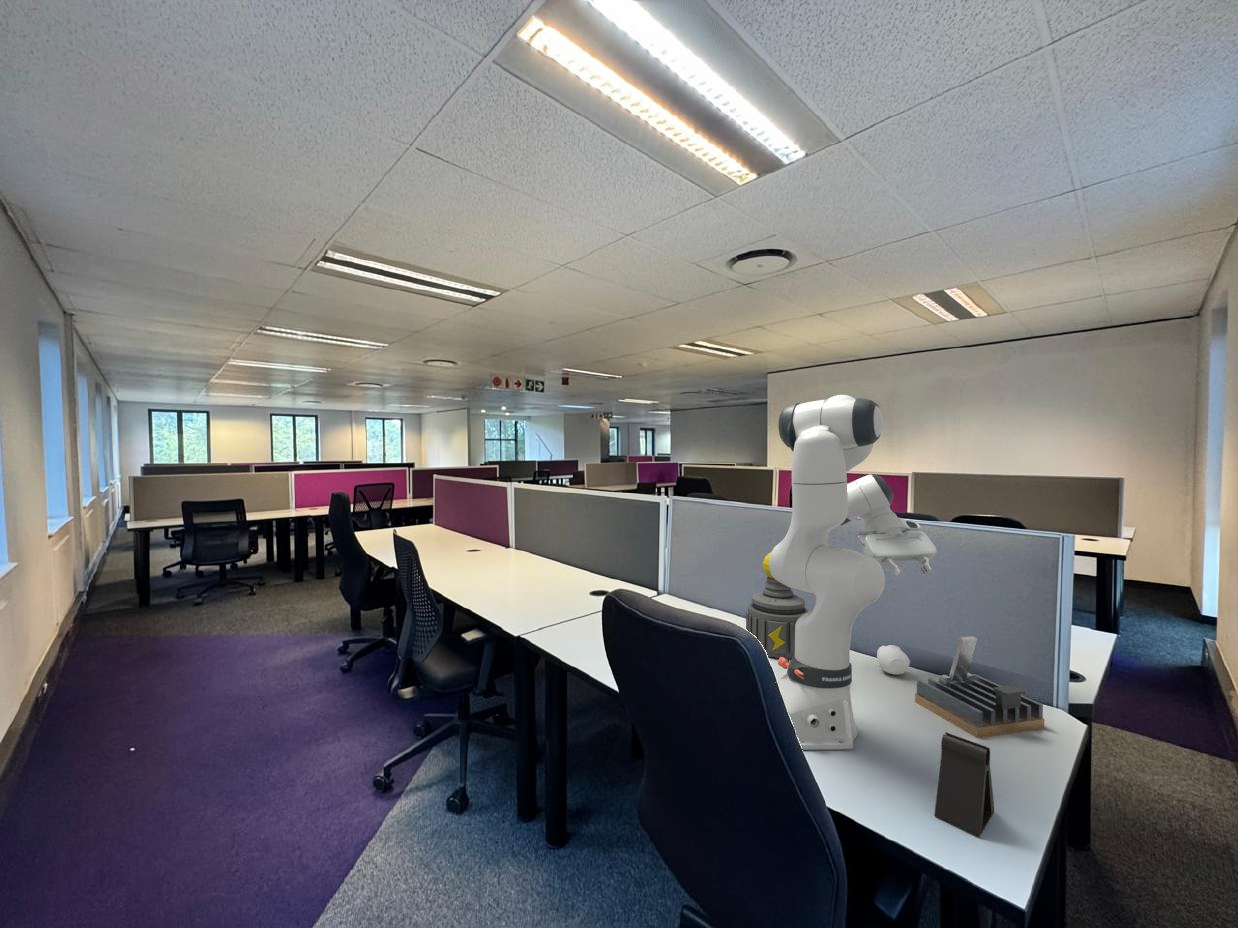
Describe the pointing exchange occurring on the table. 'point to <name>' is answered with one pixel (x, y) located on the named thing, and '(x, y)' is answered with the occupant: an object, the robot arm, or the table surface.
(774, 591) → the tesla coil
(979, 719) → the heat sink
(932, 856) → the table surface
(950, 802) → the black coffee bag
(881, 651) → the motion sensor
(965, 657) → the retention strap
